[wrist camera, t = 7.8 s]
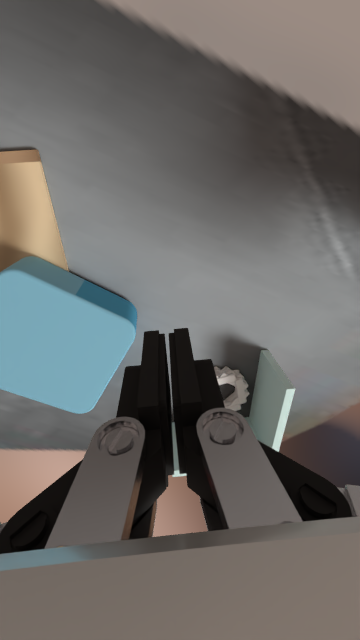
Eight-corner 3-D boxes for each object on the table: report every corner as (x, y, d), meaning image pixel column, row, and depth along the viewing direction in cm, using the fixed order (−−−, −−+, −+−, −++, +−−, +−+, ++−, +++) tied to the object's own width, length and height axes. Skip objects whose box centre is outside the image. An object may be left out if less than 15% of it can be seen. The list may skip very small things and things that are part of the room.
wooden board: (38, 150, 22) (36, 149, 22) (87, 342, 30) (86, 345, 30) (-96, 158, 21) (-101, 157, 21) (-8, 352, 30) (-11, 355, 29)
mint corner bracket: (266, 347, 34) (295, 388, 27) (252, 418, 39) (274, 467, 33) (168, 351, 33) (173, 395, 26) (168, 424, 38) (172, 476, 32)
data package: (23, 248, 25) (-15, 350, 29) (-1, 261, 21) (-41, 377, 25) (142, 307, 29) (94, 389, 33) (142, 327, 25) (87, 418, 29)
